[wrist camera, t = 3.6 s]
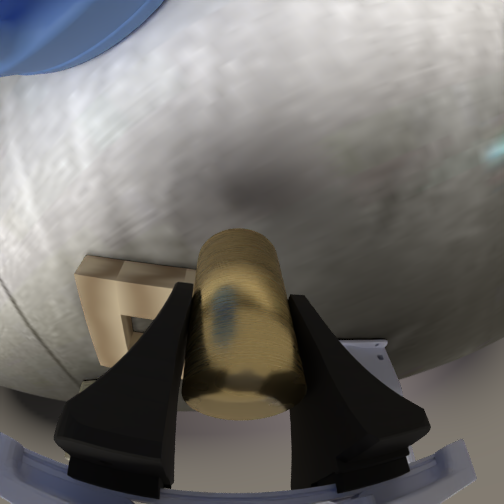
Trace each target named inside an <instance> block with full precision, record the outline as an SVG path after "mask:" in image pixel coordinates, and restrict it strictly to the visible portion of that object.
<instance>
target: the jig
mask: <svg viewBox="0 0 504 504" xmlns="http://www.w3.org/2000/svg"><path fill="white" fill-rule="evenodd" d="M74 275H75V280H76V284H77V288H78V293H79V297H80V300H81V304H82V308H83V312H84V315H85V319H86V322H87V325H88V329H89V332H90V335H91V338H92V341H93V344H94V347H95V350H96V353H97V356H98V359H99V362H100V364H101V365H102V366H107V367H112V366H114V365H115V364H116V363H117V362H118V361H119V360H120V359H121V358H122V357H123V356H124V355H125V354H126V353H127V352H128V351H129V350H130V348H131V347H132V346H133V345H134V344H135V343H136V342H137V341H138V339H139V338H140V337H141V336H142V335H143V333H139V332H133V327H132V320H131V316H133V317H139V318H146V319H153V320H154V319H155V317H156V316H157V314H158V313H159V311H160V310H161V309H162V307H163V306H164V304H165V302H166V301H167V299H168V297H169V295H170V294H171V292H172V290H173V288H174V285H175V283H177V282H184V283H192V284H194V283H195V276H196V270H195V269H187V268H179V267H171V266H163V265H155V264H147V263H140V262H132V261H125V260H118V259H111V258H103V257H97V256H90V255H86V256H85V257H84V259H83V261H82V262H81V264H80V265H79V267H78V269H77V270H76V272H75V273H74ZM193 290H194V286H193ZM184 363H185V361H184ZM183 373H184V366H183V371H182V376H181V379H183Z"/></svg>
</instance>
